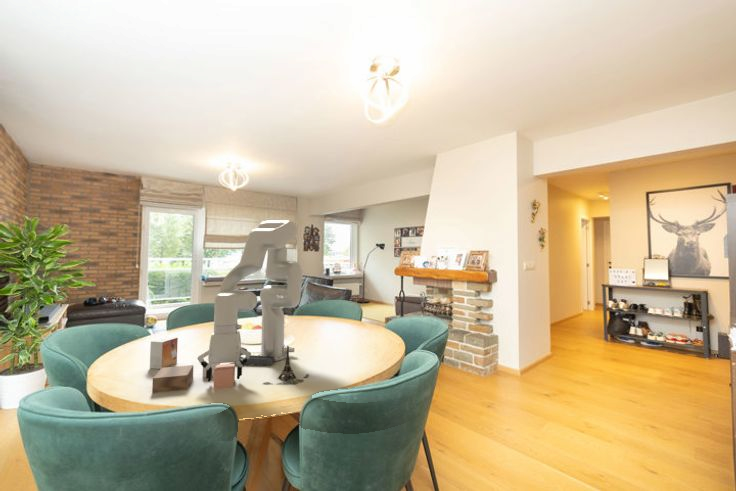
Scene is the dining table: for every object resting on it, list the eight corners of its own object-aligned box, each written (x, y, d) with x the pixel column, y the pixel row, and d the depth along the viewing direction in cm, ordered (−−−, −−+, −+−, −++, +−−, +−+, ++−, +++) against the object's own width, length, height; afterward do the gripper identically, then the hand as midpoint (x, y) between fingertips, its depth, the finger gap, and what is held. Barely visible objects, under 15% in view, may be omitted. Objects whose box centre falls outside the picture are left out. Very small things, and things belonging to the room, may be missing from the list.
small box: (161, 369, 125) (162, 342, 125) (149, 368, 126) (150, 341, 126) (177, 362, 133) (178, 337, 133) (165, 361, 134) (166, 336, 134)
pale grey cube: (219, 371, 124) (219, 358, 124) (217, 376, 119) (217, 362, 119) (205, 372, 122) (205, 359, 122) (202, 377, 117) (202, 364, 118)
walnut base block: (193, 378, 117) (193, 365, 117) (186, 390, 107) (187, 375, 107) (161, 382, 114) (161, 367, 114) (152, 393, 104) (152, 378, 104)
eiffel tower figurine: (261, 386, 112) (262, 347, 112) (269, 375, 122) (270, 339, 122) (304, 386, 112) (305, 347, 112) (309, 375, 122) (309, 340, 123)
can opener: (225, 365, 131) (226, 349, 131) (232, 361, 136) (232, 346, 136) (271, 366, 130) (271, 351, 130) (275, 362, 135) (276, 347, 135)
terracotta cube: (234, 380, 115) (235, 363, 116) (232, 387, 110) (233, 369, 110) (216, 382, 114) (216, 364, 114) (213, 388, 108) (213, 370, 108)
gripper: (252, 325, 118) (251, 373, 118) (200, 327, 113) (199, 377, 113) (251, 330, 111) (250, 380, 111) (195, 332, 106) (194, 385, 106)
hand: (224, 378), depth 112 cm, fingers open, 8 cm apart
